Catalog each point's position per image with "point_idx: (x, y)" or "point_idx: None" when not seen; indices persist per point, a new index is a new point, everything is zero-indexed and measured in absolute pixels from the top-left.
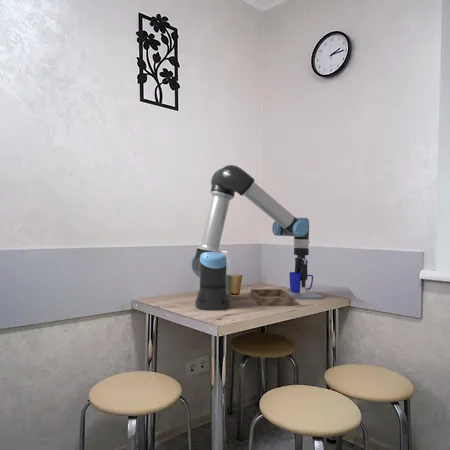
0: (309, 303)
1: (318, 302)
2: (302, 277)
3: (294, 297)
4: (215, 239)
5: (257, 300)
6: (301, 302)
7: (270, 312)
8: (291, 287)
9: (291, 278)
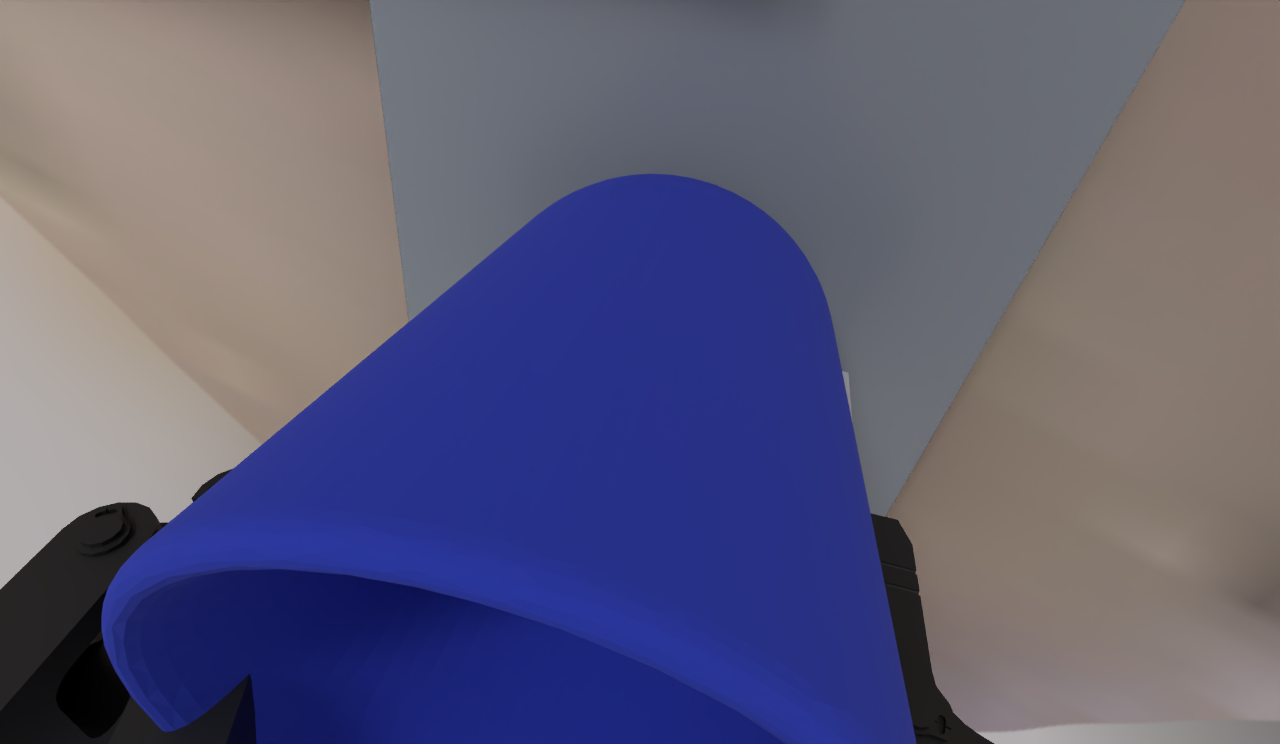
0: (81, 159)
1: (208, 326)
2: (59, 564)
3: (389, 75)
4: None
5: None
6: (108, 53)
7: None
8: (595, 199)
9: (431, 346)
